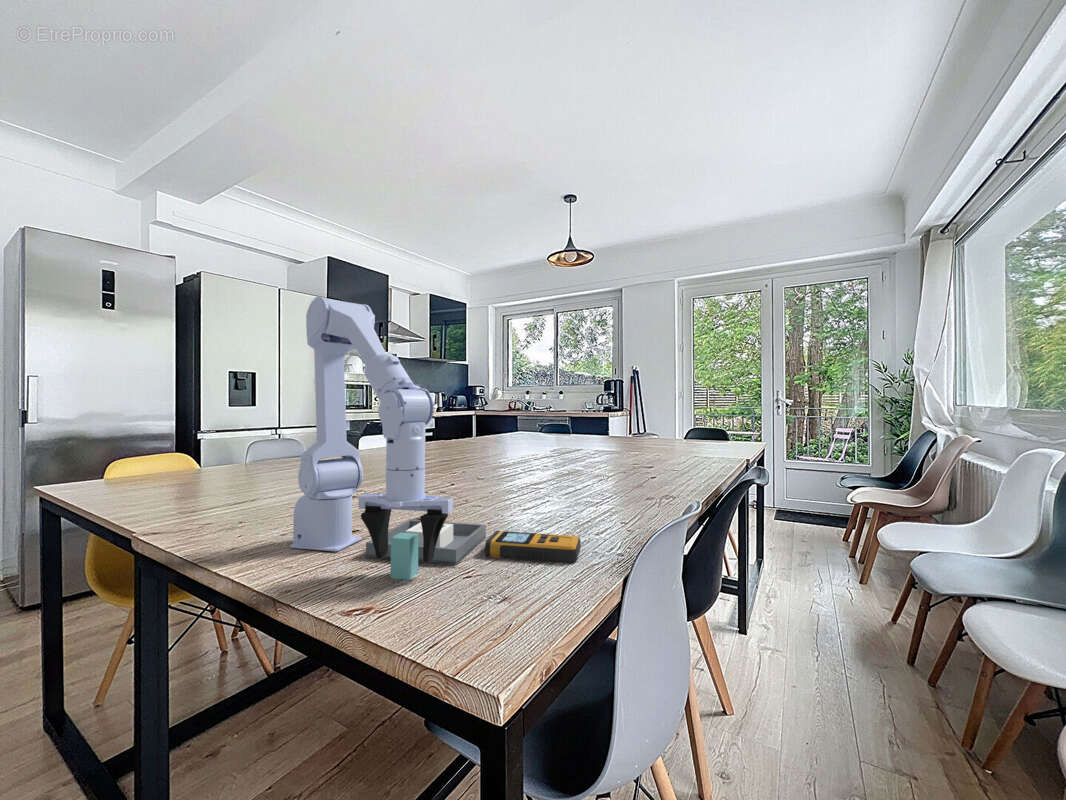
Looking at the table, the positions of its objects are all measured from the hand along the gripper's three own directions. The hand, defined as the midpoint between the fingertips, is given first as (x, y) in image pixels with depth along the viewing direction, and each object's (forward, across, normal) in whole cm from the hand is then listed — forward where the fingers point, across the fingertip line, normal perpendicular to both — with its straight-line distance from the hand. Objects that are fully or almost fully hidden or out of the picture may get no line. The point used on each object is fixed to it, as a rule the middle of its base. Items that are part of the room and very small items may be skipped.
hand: (404, 557), depth 74 cm
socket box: (+3, -2, +14) cm, 14 cm away
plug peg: (+3, 0, 0) cm, 3 cm away
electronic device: (+3, +17, +15) cm, 23 cm away
